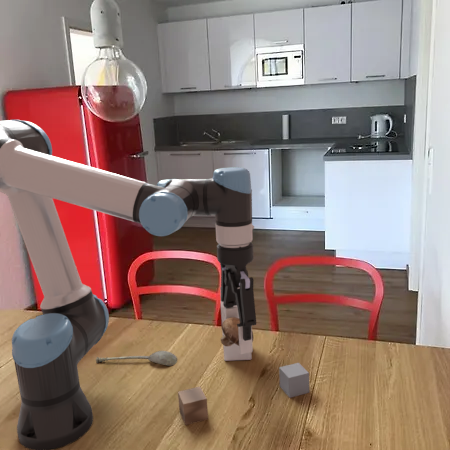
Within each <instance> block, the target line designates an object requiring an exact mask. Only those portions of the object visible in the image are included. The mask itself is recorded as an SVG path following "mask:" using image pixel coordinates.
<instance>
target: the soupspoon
mask: <svg viewBox="0 0 450 450" xmlns="http://www.w3.org/2000/svg"><path fill="white" fill-rule="evenodd" d="M133 359H136V360H138V359H141V360H148V361H150V362H152V363H154V364H159V365H164V366H166V367H167V366H174V365H175V364H177V362H178V360H179V359H178V357H177V356H176V354H174V353H173V352H170V351H167V350H159V351H154V352H153V353H151V354H150V355H131V356H129V355H128V356H119V357H117V356H116V357H108V356H107V357H96V359H95V361H96V364H99V363H102V362H105V361H106V362H107V361H111V360H112V361H113V360H114V361H115V360H133Z"/></svg>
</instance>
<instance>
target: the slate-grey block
mask: <svg viewBox="0 0 450 450" xmlns="http://www.w3.org/2000/svg"><path fill="white" fill-rule="evenodd" d="M278 374H279V375H278V376H279V387H280V388H281V389H282V391H283V393H285V395H286V396H287V397H288V398H295V397H298V396H301V395H305V394H308V393H310V373H309V371H308V370H307V369H306V368H305V367H304V366H303V365H302V364H301V363H300V362H296V363H295V362H294V363H292V364H288V365H287V364H286V365H283V366H279V367H278Z"/></svg>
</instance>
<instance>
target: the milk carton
mask: <svg viewBox="0 0 450 450" xmlns="http://www.w3.org/2000/svg"><path fill="white" fill-rule="evenodd" d="M219 289H220V290H219V291H220V292H219V293H220V294H221V286H220V287H219ZM238 289H240V287H239V288H238ZM223 303H224V302H222V301H221V300H220V315H221V324H222V323H223V321H224V320H225V308H226V307H224V305H223ZM233 307H237V305H236V306H233ZM237 316H238V318H239V314H238V308H237ZM221 332H222V337H223V336H224V333H223V331H221ZM222 346H223V360H224V361H228V362H229V361H249V360H250V361H251V360H252V359H253V358H252V352H249V353H245V354H240V353H239V346H238V345H236V344H233V345H231V346H224V345H223V344H222Z"/></svg>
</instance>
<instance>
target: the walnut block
mask: <svg viewBox="0 0 450 450" xmlns="http://www.w3.org/2000/svg"><path fill="white" fill-rule="evenodd" d="M177 397H178V407H179V413H180V416H181V418H182V421H183V423H184V425H185V426H189V425H191V424H195V423H199V422H202V421H207V420H209V411H208V410H209V409H208V399H207V397H206V395H205V393H204V391H203V389H202V387H201V386H196V387H192V388H188V389H183V390H180V391H177Z"/></svg>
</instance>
